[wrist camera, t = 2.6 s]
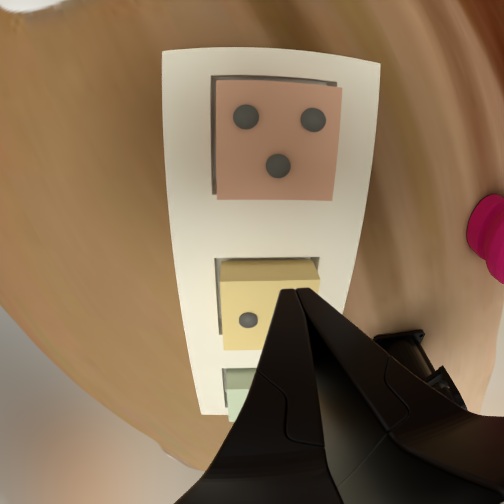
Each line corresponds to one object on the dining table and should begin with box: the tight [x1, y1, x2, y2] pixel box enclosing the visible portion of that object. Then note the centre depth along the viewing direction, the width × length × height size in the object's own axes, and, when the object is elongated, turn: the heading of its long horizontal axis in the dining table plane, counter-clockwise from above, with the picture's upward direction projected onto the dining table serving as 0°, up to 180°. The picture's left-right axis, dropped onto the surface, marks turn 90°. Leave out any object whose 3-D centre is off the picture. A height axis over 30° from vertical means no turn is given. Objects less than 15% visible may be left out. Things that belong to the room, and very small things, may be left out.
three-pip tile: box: [216, 80, 342, 201], centre depth 15 cm, size 6×6×2 cm
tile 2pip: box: [220, 260, 320, 351], centre depth 20 cm, size 6×6×2 cm
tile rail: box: [162, 47, 380, 415], centre depth 22 cm, size 12×32×3 cm, turn 179°
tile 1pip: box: [226, 368, 256, 422], centre depth 26 cm, size 6×6×2 cm
